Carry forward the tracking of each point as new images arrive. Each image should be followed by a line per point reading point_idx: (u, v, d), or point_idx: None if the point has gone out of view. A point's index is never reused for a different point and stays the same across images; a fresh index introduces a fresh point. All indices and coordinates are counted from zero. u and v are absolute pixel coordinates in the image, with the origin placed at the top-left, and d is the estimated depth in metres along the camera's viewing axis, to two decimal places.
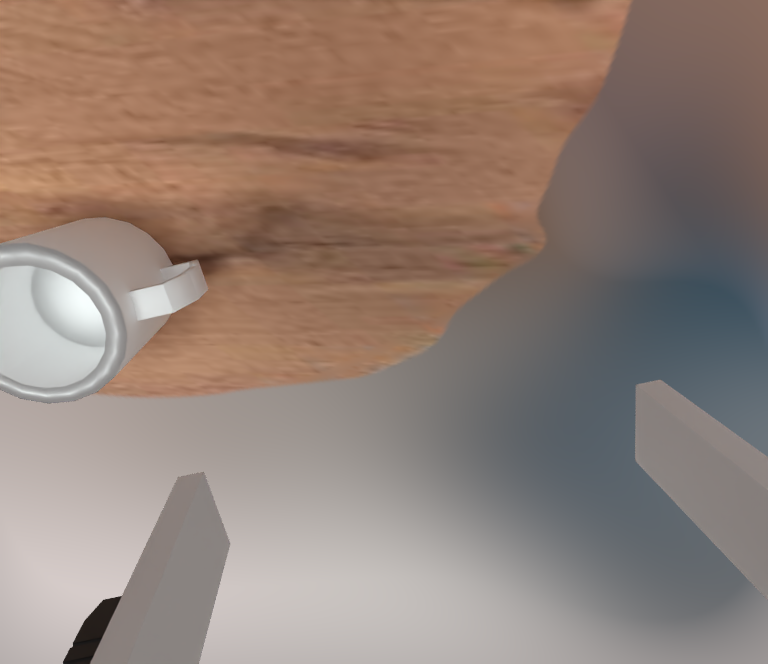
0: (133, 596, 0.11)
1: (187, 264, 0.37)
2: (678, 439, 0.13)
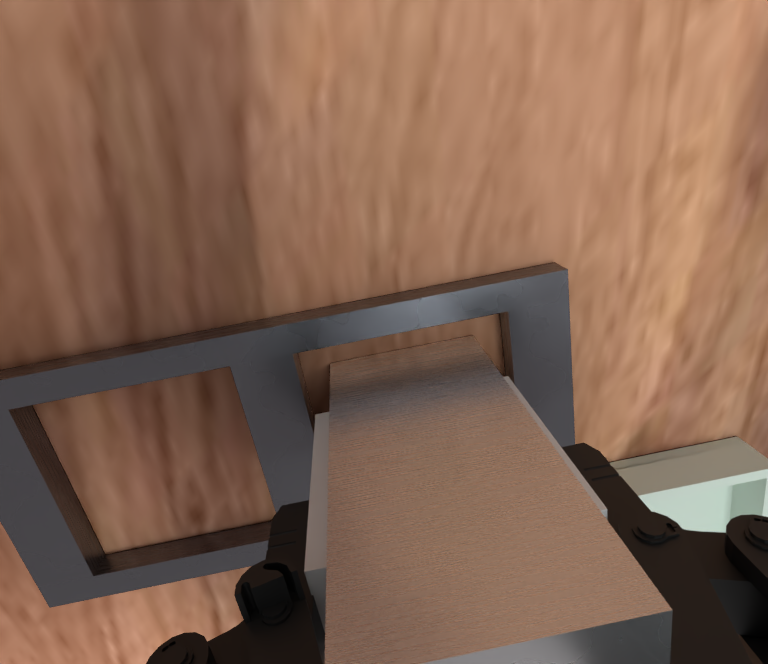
0: (319, 495, 0.13)
1: None
2: None
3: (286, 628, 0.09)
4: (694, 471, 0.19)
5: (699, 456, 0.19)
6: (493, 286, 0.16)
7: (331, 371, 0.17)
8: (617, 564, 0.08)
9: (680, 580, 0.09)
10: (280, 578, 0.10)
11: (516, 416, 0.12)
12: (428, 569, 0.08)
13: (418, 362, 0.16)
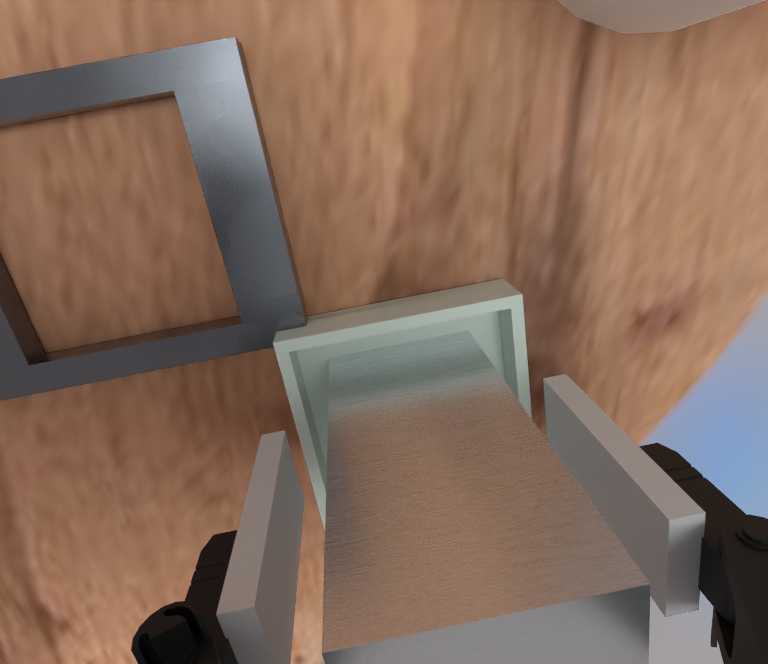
0: (248, 526, 0.12)
1: None
2: (571, 427, 0.14)
3: None
4: (434, 304, 0.16)
5: (450, 294, 0.17)
6: (148, 56, 0.14)
7: (330, 365, 0.17)
8: (600, 543, 0.08)
9: None
10: (183, 623, 0.09)
11: (508, 407, 0.13)
12: (421, 549, 0.09)
13: (415, 356, 0.17)
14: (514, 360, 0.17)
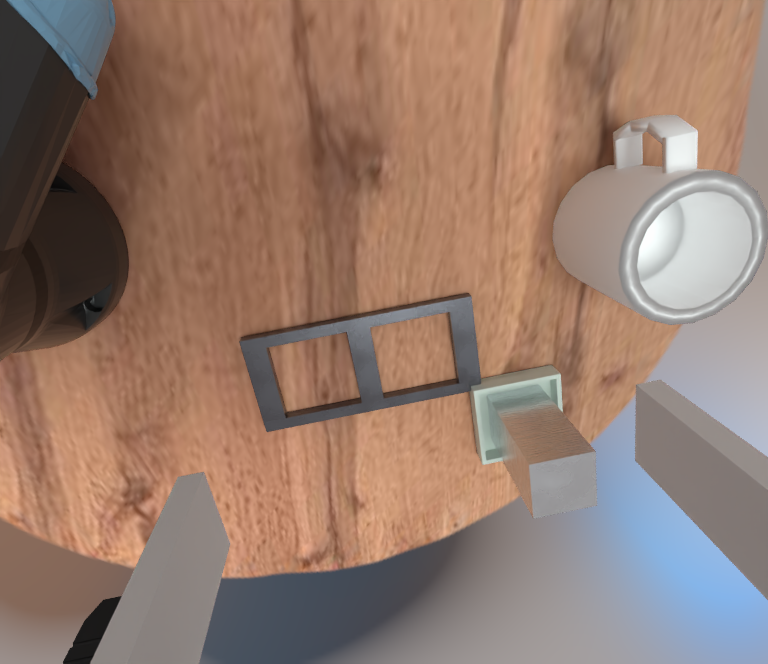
0: (133, 596, 0.11)
1: (618, 140, 0.38)
2: (677, 439, 0.13)
3: None
4: (528, 376, 0.46)
5: (533, 371, 0.46)
6: (443, 302, 0.43)
7: (489, 398, 0.46)
8: (585, 445, 0.38)
9: None
10: None
11: (559, 414, 0.42)
12: (544, 448, 0.38)
13: (521, 395, 0.46)
14: (556, 396, 0.46)
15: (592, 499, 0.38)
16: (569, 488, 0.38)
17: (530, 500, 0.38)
